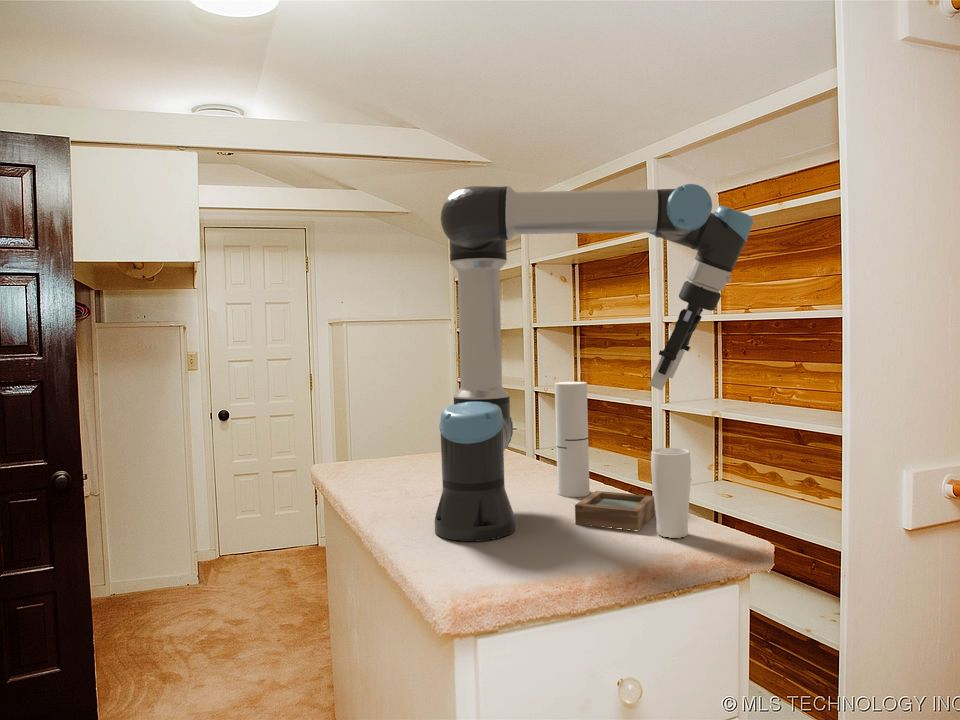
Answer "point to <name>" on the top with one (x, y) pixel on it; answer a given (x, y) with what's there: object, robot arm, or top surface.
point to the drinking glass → (671, 490)
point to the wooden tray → (615, 510)
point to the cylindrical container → (572, 439)
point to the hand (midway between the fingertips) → (661, 381)
